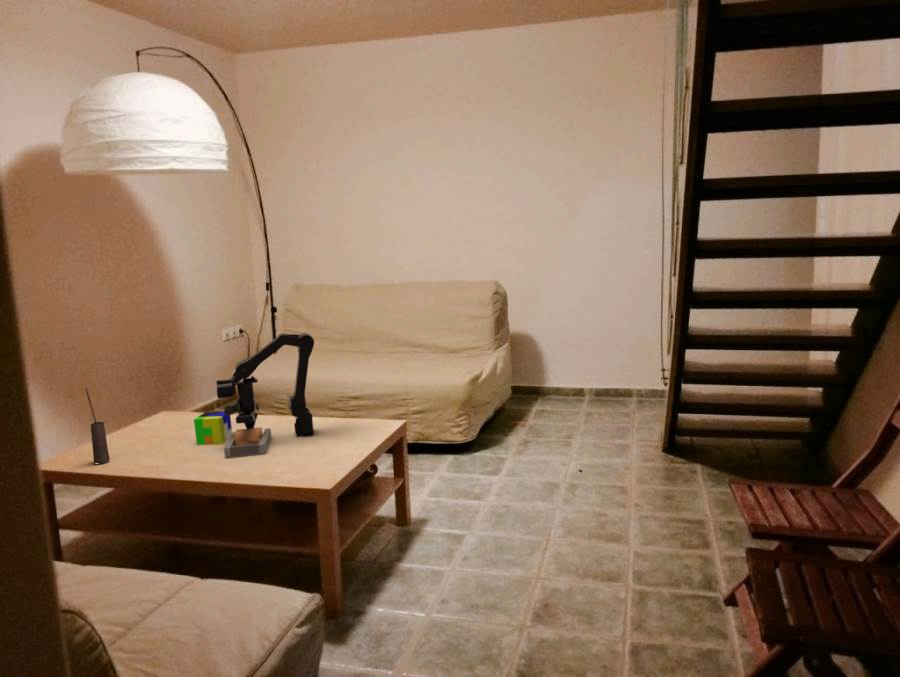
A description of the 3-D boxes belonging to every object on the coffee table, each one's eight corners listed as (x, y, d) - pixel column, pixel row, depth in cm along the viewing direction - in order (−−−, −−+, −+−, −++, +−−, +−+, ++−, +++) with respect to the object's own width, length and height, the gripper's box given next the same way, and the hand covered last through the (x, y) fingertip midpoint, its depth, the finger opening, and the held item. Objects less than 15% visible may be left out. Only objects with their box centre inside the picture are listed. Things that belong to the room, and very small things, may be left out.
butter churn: (124, 456, 256) (113, 383, 251) (111, 465, 246) (99, 389, 242) (99, 457, 256) (88, 384, 251) (85, 467, 247) (73, 390, 242)
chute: (271, 437, 268) (270, 428, 268) (265, 454, 249) (264, 444, 248) (234, 440, 267) (233, 431, 266) (225, 458, 247) (224, 448, 246)
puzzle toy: (232, 435, 274) (229, 411, 272) (221, 444, 264) (218, 418, 262) (208, 436, 275) (205, 412, 273) (196, 444, 265) (193, 419, 263)
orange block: (263, 440, 262) (261, 427, 262) (261, 445, 257) (259, 432, 256) (238, 442, 261) (236, 429, 260) (235, 447, 255) (234, 434, 255)
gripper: (228, 390, 269) (233, 429, 271) (219, 403, 250) (224, 444, 253) (257, 388, 270) (262, 426, 273) (250, 400, 252) (255, 441, 255)
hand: (250, 434), depth 263 cm, fingers closed
